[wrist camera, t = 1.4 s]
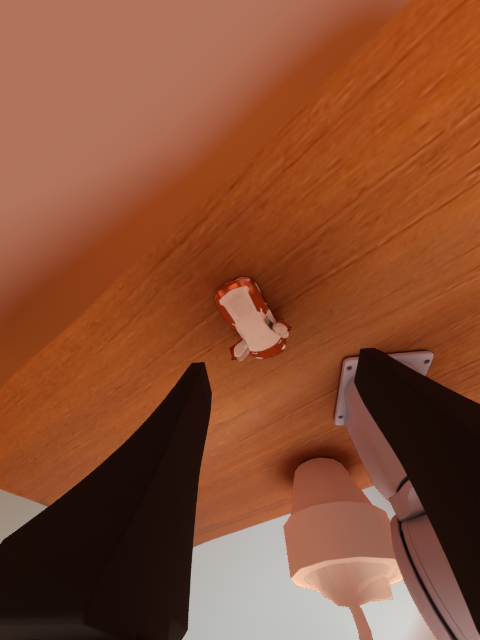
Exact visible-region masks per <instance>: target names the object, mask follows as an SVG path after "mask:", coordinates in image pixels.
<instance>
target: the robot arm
mask: <svg viewBox="0 0 480 640" xmlns="http://www.w3.org/2000/svg"><path fill="white" fill-rule="evenodd" d="M433 357H434V354H433V353H432V352H430V351H418V352H407V353H395V354H385V353H383V352H382V351H380V350H378V349H376V348H366V349H360V354H359V357H350V358H346V359H345V360H344V361H343V366H342V372H341V378H340V385H339V391H338V398H337V404H336V411H335V417H334V422H335V424H336V425H345V427H346V429H347V431H348V433H349V435H350V437H351V440H352V442H353V444H354V446H355V448H356V450H357V452H358V454H359V456H360V458H361V461H362V463H363V465H364V467H365V469H366V471H367V473H368V475H369V477H370V479H371V481H372V483H373V484H374V486H375V487H376V488H377V490H378V491H379V492H380V493H381V494H382V495H383V496H384V497H385V498H386V499H387V500H388V501H389V502H390V503H391V505H392V507H393V509H394V511H395V513H396V515H395V516H394V517H393V518H392V519H391V527H390V529H391V541H392V547H393V551H394V555H395V558H396V562H397V564H398V567H399V570H400V572H401V575H402V577H403V580H404V582H405V584H406V586H407V588H408V590H409V593H410V595H411V597H412V599H413V600H414V602H415V604H416V606H417V608H418V610H419V612H420V613H421V615H422V617H423V618H424V620H425V622H426V623H427V625H428V626H429V628H430V630H431V631H432V633H433V634H434V636H435V637H436V638H437V640H480V404H478V403H476V402H474V401H472V400H470V399H468V398H466V397H464V396H462V395H460V394H458V393H456V392H454V391H452V390H450V389H448V388H446V387H444V386H442V385H441V384H439V383H437V382H435V381H433V380H431V379H429V378H428V377H426V374H427V372H428V369H429V367H430V364H431V362H432V359H433ZM348 366H350V367H348ZM347 367H348V368H347ZM211 397H212V392H211V388H210V383H209V379H208V375H207V371H206V366H205V362H200V363H192V364H191V365H190V366H189V367H188V369H187V370H186V371H185V373H184V374H183V375H182V377H181V378H180V380H179V381H178V382H177V384H176V385H175V386H174V388H173V389H172V390H171V391H170V393H169V394H168V395H167V396H166V398H165V399H164V400H163V401H162V403H161V404H160V405H159V406H158V407H157V409H156V410H155V411H154V412H153V413H152V414H151V416H150V417H149V418H148V419H147V420H146V421H145V422H144V423H143V424H142V425H141V426H140V428H139V429H138V430H137V431H136V432H135V433H134V434H133V435H132V436H131V437H130V438H129V439H128V440H127V441H126V442H125V443H124V444H123V445H122V446H120V447H119V448H118V449H117V450H116V451H115V452H114V453H113V454H112V455H111V456H109V457H108V458H107V459H106V460H105V461H104V462H103V463H102V464H101V465H100V466H98V467H97V468H96V469H95V470H94V471H93V472H91V473H90V474H89V475H88V476H87V477H85V478H84V479H83V480H82V481H81V482H79V483H78V484H77V485H76V486H74V487H73V488H72V489H71V490H69V491H68V492H67V493H66V494H64V495H63V496H62V497H61V498H59V499H58V500H57V501H55V502H54V503H53V504H52V505H50V506H49V507H47V508H46V509H45V510H44V511H42V512H41V513H39V514H38V515H37V516H35V517H34V518H33V519H31V520H30V521H29V522H27V523H26V524H25V525H23V526H22V527H20V528H19V529H18V530H17V531H15V532H14V533H12V534H11V535H9V536H8V537H7V538H5V539H4V540H3V541H2V543H1V544H0V640H182V638H183V637H184V635H185V634H186V632H187V630H188V611H189V595H190V578H191V563H192V550H193V537H194V525H195V514H196V502H197V492H198V482H199V474H200V467H201V461H202V456H203V451H204V445H205V440H206V435H207V429H208V424H209V418H210V411H211Z"/></svg>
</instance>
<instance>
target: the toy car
mask: <svg viewBox="0 0 480 640" xmlns="http://www.w3.org/2000/svg"><path fill="white" fill-rule="evenodd" d="M232 295H233V296H232ZM214 298H215V300H214V301H215V304H216V307H217V309H218V311H219V313H220V314H221V315H222V316H223V318H224V319H225V320H226V321H227V323H228V324H229V325H230V326H231V328H233V329H236V330H237V332H238V333H239V334H240V336H241V337H242V339H243V340H240V341H239V342H237V343H236V344H235V345H233V346H232V347H231V348H229V349H230V350H231V355H232V360H236V359H238V360H239V361H240V362H241V361H242V360H244V359H245V358H246V357H247V355H248V354H250V355H251V356H253V357H255V358H258V359H266V358H270V357H274V356H276V355H277V354H279V353H280V352H282V351H283V350H284V349H285V347H286V338H287V337H288V335H289V334H288V331H289V330H290V329H291V328H292V327H290V326H288V325H287V324H286V323H285V322H284V321H283V319H282V320H280V321H278V322H276V320H275V318H274V317H273V315H272V313H271V311H270V309H269V307H268V305H267V303H266V301H265V299H264V298H263V297H262V294H261V291H260V289H259V287H258V285H257V284H256V282H255V281H254V282H253V281H252V280H251V279H250V278H244V277H239V278H238V279H236V280H234V281H230V282H228V283H227V284H225V286H223V287H222V288H220V289H218V290H217V292H216V295H215V297H214Z"/></svg>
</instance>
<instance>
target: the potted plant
mask: <svg viewBox="0 0 480 640" xmlns="http://www.w3.org/2000/svg"><path fill="white" fill-rule="evenodd" d="M390 527H391V522H390V520H389V518H388V516H387V514H386V512H385V511H384V510H382V509H380V508H378V507H376V506H374V505H372V504H371V502H370V501H369V500H368V498H367V497H366V496H365V495H364V493H363V492H362V490H361V489H360V488H359V486H358V485H357V484H356V482H355V481H354V479H353V478H352V477H351V475H350V474H349V473H348V471H347V470H346V469H345V467H344V466H343V465H342V464H341V463H339V462H337V461H336V460H334V459H330V458H314V459H309V460H307V461H306V462H304V463H302V464H301V465H299V466H298V468H297V469H296V471H295V473H294V484H293V496H292V508H291V516H290V518H289V519H288V521H287V522H286V523H285V525H284V533H285V540H286V547H287V555H288V562H289V569H290V576H291V579H292V580H293V582H294V583H295V584H296V585H297V586H299V587H303V588H306V589H310V590H314V591H320V592H321V593H322V595H323V596H324V597H325V598H328V599H330V600H332V601H333V602H334V603H336V604H337V605H338V606H346V607H349V608H350V610H351V612H352V614H353V617H354V620H355V623H356V625H357V629H358V633H359V639H360V640H373V638H372V634H371V630H370V628H369V625H368V623H367V621H366V618H365V616H364V614H363V611H362V609H361V608H360V606H359V605H362V604H364V603H367V602H370V601H380V600H392V599H393V597H392V592H391V587H390V585H391V584H395V583H396V582H399V581H400V580H402V579H403V577H402V575H401V572H400V570H399V567H398V564H397V562H396V558H395V555H394V551H393V547H392V541H391V529H390Z"/></svg>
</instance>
